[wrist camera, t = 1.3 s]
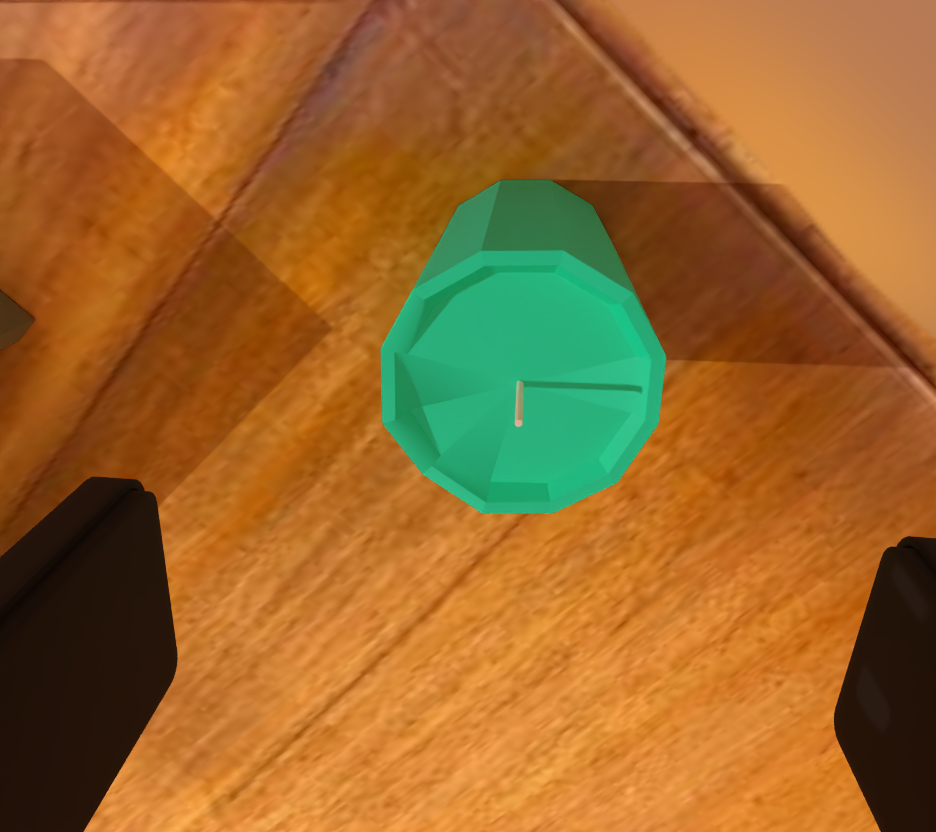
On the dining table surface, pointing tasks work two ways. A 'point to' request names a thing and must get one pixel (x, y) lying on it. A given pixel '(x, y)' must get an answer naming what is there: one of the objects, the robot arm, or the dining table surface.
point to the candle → (522, 355)
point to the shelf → (12, 321)
